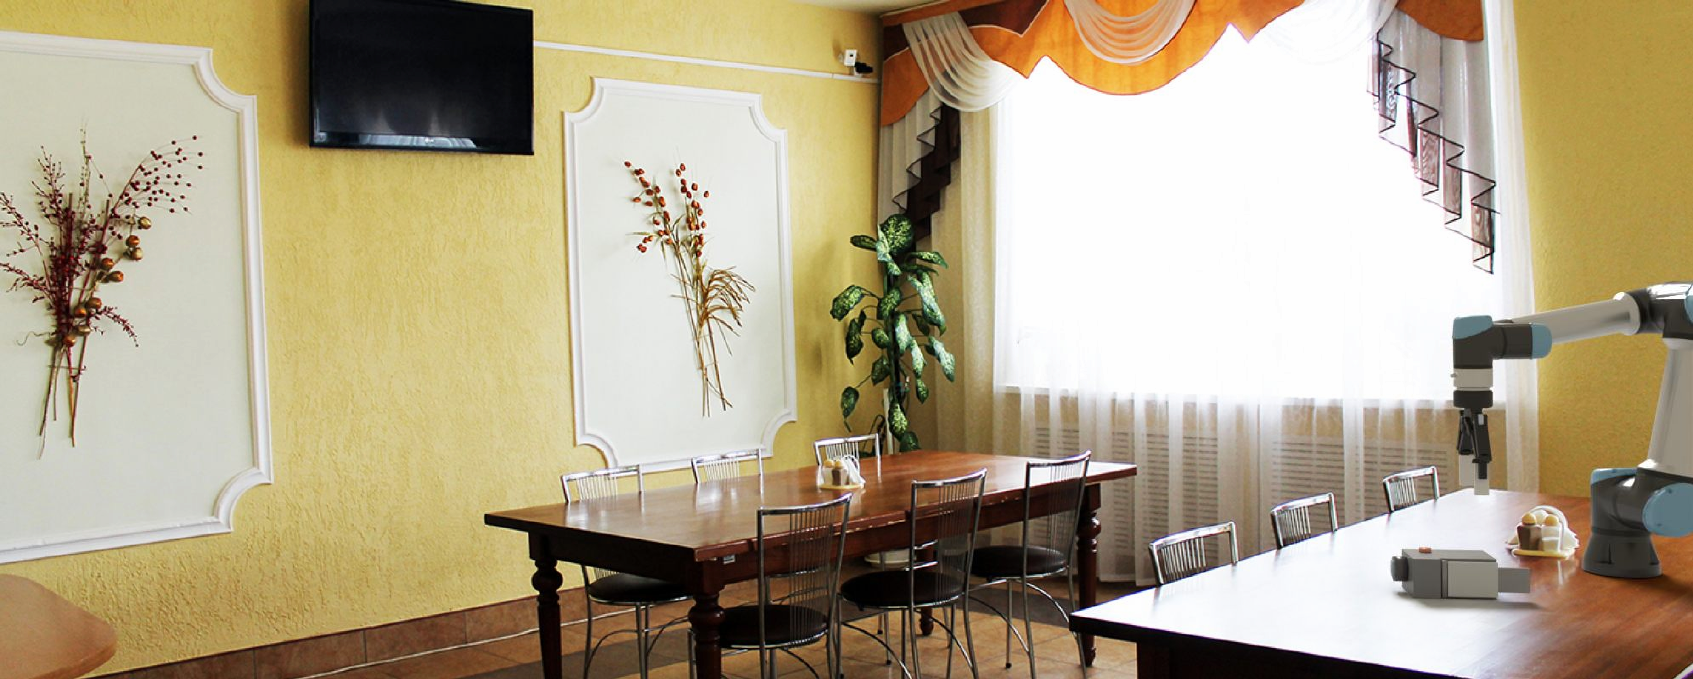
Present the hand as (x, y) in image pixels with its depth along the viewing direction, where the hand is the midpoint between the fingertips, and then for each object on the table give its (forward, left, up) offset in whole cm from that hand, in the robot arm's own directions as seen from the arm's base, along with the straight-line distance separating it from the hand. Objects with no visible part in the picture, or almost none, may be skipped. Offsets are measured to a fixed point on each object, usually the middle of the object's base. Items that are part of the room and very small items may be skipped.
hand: (1473, 490), depth 277 cm
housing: (+7, +5, -21) cm, 23 cm away
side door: (0, +10, -20) cm, 23 cm away
